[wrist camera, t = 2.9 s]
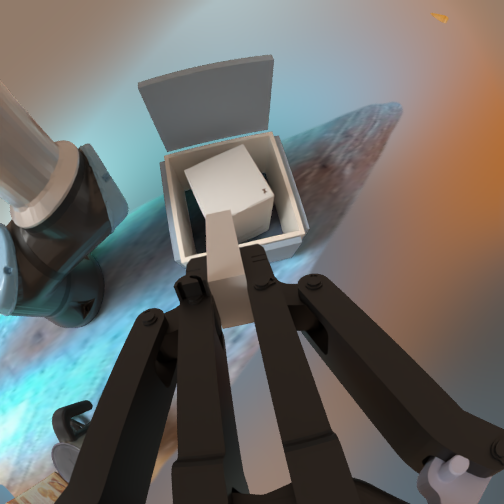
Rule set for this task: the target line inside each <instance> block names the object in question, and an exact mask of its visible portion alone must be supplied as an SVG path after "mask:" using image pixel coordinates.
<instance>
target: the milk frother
mask: <svg viewBox="0 0 504 504" xmlns="http://www.w3.org/2000/svg"><path fill="white" fill-rule="evenodd" d="M92 406H93V405H92V404H91V402H90V401H88V400H85V401H81V402H78V403H74V404H71V405H68V406H65V407H62V408H59V409H58V410H56V411H55V412H54V414H53V417H52V425H53V429H54V432H55V434H56V436H57V438H58V440H59V442H60V443H57V444H55V445H54V446H53V448H52V460H53V463H54V466H55V467H56V469H57V471H58V472H59V474H60V475H61V476H62V477H63V478H64V479H65V480H66V481H67V482H68V483H69V481H70V478H71V475H72V472H73V469H74V466H75V463H76V460H77V457H78V454H79V452H80V449H81V446H82V443H83V441H84V438H85V435H86V433H87V430H88V427H89V425H90V423H89V424H87V425H84V424H82V423H79V422H77V421H75V420H73V419H71V418H72V417H74V416H77V415H79V414H82V413H84V412H86V411H89V410H91V409H92ZM71 426H73V427H74V428H75V429H76V430H77V431H76V432H73V430H72V428H71ZM81 427H82V428H81Z"/></svg>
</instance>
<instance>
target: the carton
mask: <svg viewBox="0 0 504 504" xmlns="http://www.w3.org/2000/svg"><path fill="white" fill-rule="evenodd" d="M242 144H244V146H245V148H246V149H247V151H248V152H249V154H250V156H251V157H252V159H253V160H254V162H255V164H256V165H257V167H258V168H259V170H260V172H261V173H266V176H267V179H268V183H269V186H270V188H271V190H272V192H273V193H274V203H275V207H276V210H277V213H278V217H279V220H280V224H281V227H282V231H283V234H281V235H277V236H273V237H268V238H264V239H260V240H256V241H251V242H247V243H243V244H239V247H244V246H249V245H253V244H259V245H261V246H262V247H264V249H265V252H266V255H267V258H268V260H269V263H271V262H275V261H279V260H283V259H288V258H292V256H293V255H294V253H295V252H296V250H297V249H298V248H299V246H300V245H301V243H302V240H303V238H304V237H305V235H306V234H307V232H308V231H309V229H310V228H309V225H308V221H307V218H306V215H305V212H304V209H303V205H302V202H301V199H300V196H299V193H298V190H297V187H296V184H295V181H294V178H293V175H292V172H291V169H290V166H289V163H288V160H287V157H286V154H285V152H284V149H283V146H282V143H281V140H280V138H279V136H273V133H272V132H267V133H261V134H256V135H251V136H245V137H240V138H235V139H231V140H226V141H221V142H217V143H213V144H208V145H204V146H200V147H196V148H192V149H188V150H184V151H180V152H176V153H173V154H169V155H166V156H164V158H165V161H163V162H160V170H161V177H162V185H163V192H164V199H165V206H166V213H167V219H168V225H169V231H170V237H171V243H172V249H173V254H174V260H175V261H176V262H177V263H178V264H180V265H181V266H182V267H183V268H185V269H186V265H187V264H188V262H189V261H190V259H192V258H196V257H201V256H206V255H207V252H205V253H201V254H197V253H196V248H195V243H194V238H193V233H192V228H191V223H190V217H189V212H188V206H187V201H186V195H185V191H187V190H191V187H190V184H189V182H188V180H187V177H186V175H185V172H184V170H186V169H188V168H191V167H193V166H195V165H197V164H199V163H201V162H203V161H205V160H208V159H210V158H212V157H214V156H216V155H219V154H221V153H223V152H226V151H228V150H230V149H233V148H235V147H237V146H240V145H242Z"/></svg>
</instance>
